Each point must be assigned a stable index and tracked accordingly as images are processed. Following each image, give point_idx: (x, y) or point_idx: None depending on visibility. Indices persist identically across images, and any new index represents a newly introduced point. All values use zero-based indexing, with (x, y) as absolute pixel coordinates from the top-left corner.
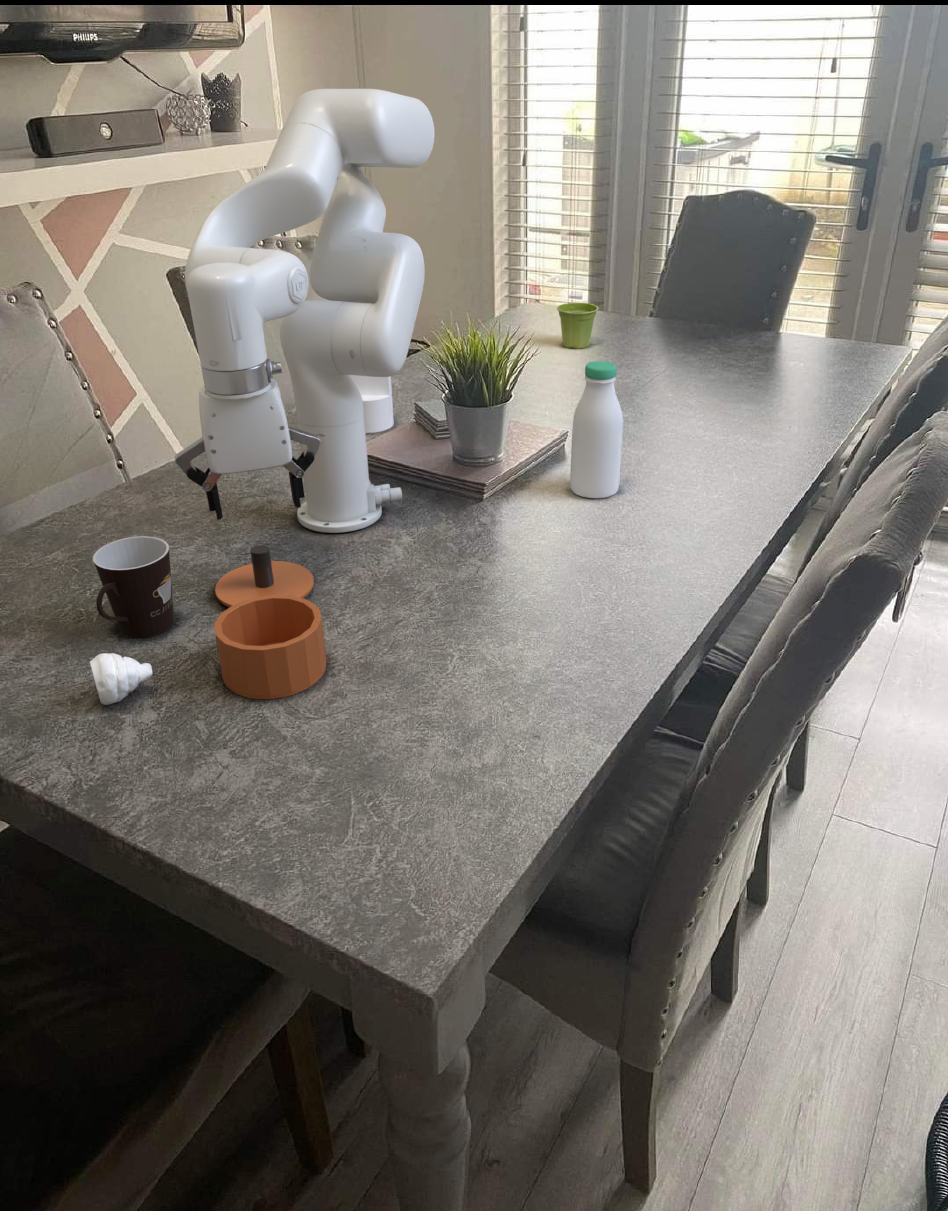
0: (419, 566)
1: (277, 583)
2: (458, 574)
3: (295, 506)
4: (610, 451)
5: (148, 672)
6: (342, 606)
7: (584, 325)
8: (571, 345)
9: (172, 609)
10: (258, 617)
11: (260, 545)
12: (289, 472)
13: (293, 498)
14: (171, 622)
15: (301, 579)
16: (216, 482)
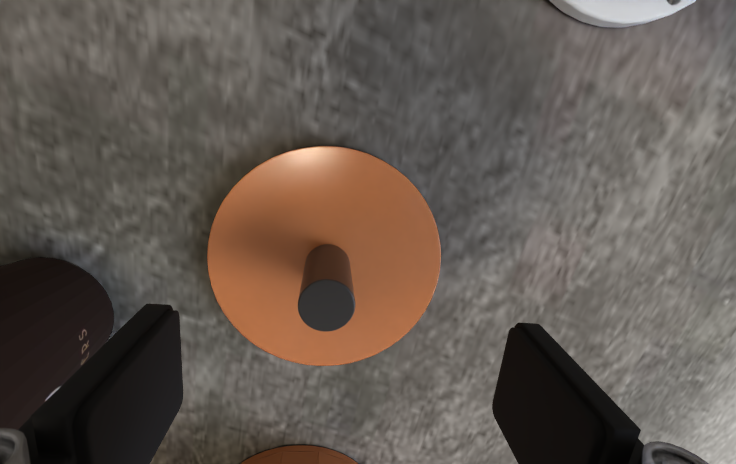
0: (657, 271)
1: (356, 274)
2: (700, 328)
3: (494, 414)
4: None
5: None
6: (458, 368)
7: None
8: None
9: (97, 344)
10: None
11: (333, 282)
12: (595, 449)
13: (509, 412)
14: (105, 340)
15: (411, 276)
16: (90, 412)
